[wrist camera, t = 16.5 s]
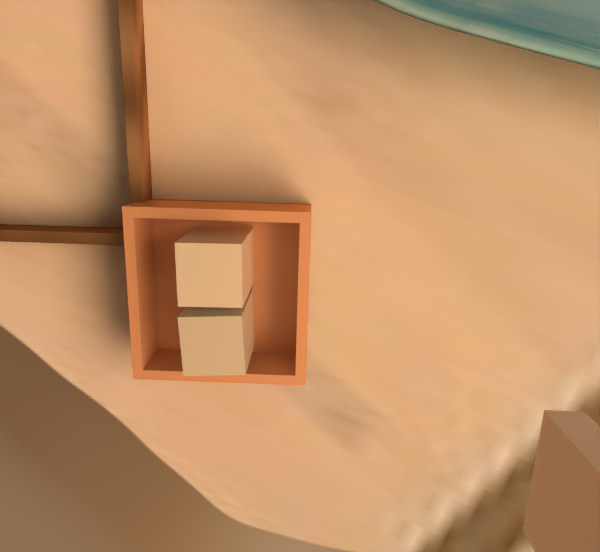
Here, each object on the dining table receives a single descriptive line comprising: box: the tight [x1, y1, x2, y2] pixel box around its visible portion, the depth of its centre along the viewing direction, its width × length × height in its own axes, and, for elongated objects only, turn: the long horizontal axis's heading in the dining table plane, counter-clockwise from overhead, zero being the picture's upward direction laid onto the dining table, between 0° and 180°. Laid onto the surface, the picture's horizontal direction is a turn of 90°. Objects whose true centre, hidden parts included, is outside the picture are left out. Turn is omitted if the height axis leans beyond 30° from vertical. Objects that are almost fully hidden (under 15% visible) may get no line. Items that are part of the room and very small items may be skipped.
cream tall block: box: [175, 227, 254, 308], centre depth 32 cm, size 4×4×6 cm
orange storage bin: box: [122, 199, 311, 385], centre depth 34 cm, size 12×12×4 cm
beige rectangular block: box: [178, 288, 256, 376], centre depth 33 cm, size 4×4×6 cm
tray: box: [0, 0, 152, 245], centre depth 32 cm, size 20×13×2 cm, turn 178°
